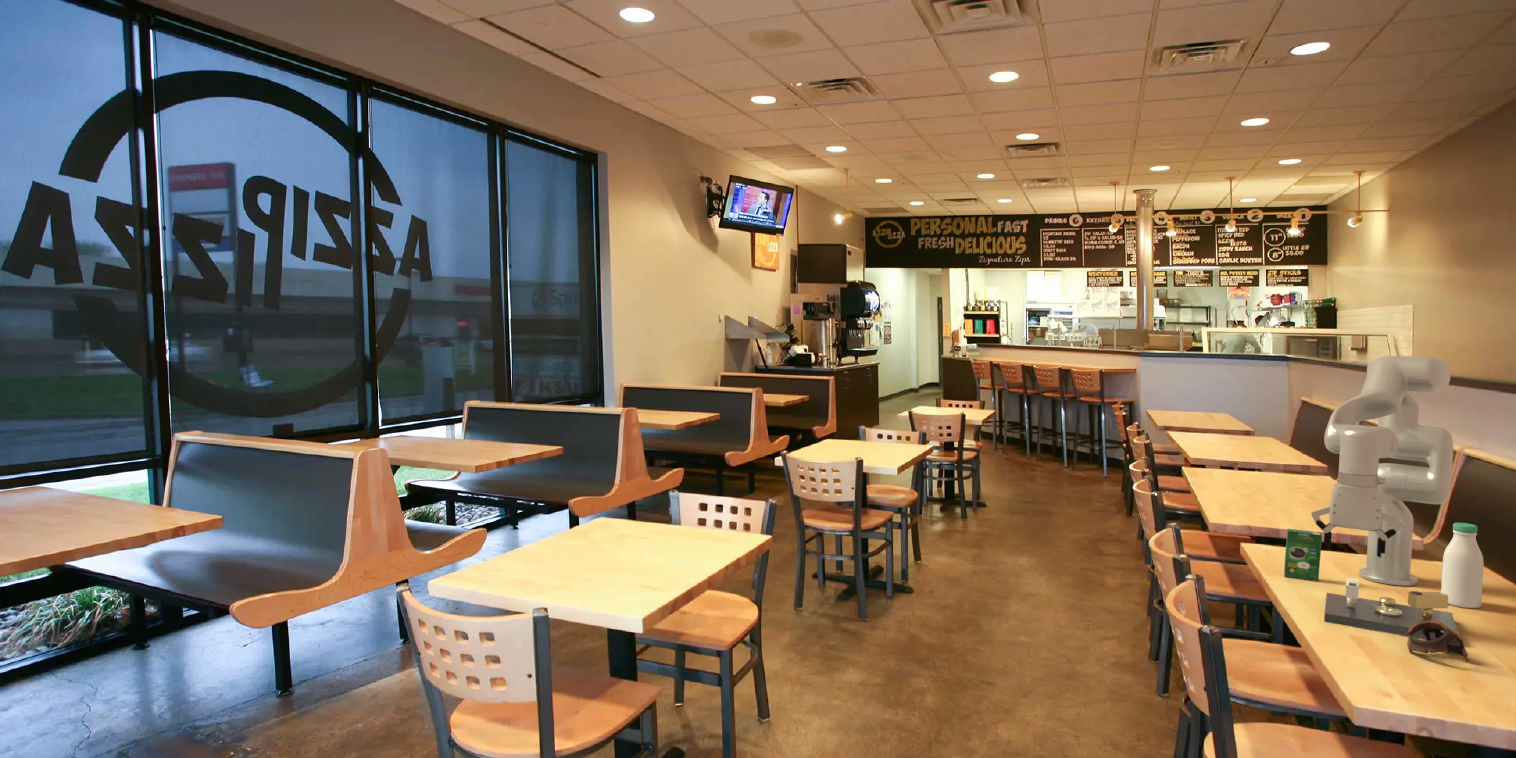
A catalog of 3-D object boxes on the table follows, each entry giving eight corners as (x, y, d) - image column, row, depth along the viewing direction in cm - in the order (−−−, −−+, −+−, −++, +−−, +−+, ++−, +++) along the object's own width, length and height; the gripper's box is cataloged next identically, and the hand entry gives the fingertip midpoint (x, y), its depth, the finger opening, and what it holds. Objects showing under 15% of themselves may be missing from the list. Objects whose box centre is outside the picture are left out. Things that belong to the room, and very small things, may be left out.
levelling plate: (1326, 600, 205) (1327, 586, 205) (1451, 621, 191) (1452, 605, 191) (1324, 621, 191) (1325, 606, 191) (1459, 645, 177) (1460, 629, 177)
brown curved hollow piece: (1480, 671, 165) (1462, 637, 164) (1425, 682, 169) (1408, 649, 169) (1458, 636, 175) (1441, 604, 175) (1407, 647, 180) (1390, 616, 179)
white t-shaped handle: (1345, 600, 199) (1346, 576, 198) (1357, 602, 197) (1358, 578, 197) (1344, 608, 193) (1346, 583, 192) (1357, 610, 191) (1358, 585, 191)
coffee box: (1319, 579, 223) (1321, 531, 222) (1319, 582, 220) (1322, 534, 219) (1283, 574, 227) (1286, 527, 226) (1284, 577, 224) (1286, 530, 223)
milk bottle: (1488, 610, 199) (1494, 529, 197) (1452, 607, 200) (1457, 527, 199) (1468, 599, 206) (1473, 521, 205) (1433, 597, 208) (1437, 519, 206)
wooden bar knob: (1438, 616, 188) (1439, 590, 187) (1446, 620, 185) (1448, 594, 185) (1407, 615, 188) (1408, 590, 188) (1415, 619, 186) (1416, 593, 185)
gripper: (1403, 483, 191) (1399, 555, 192) (1314, 474, 201) (1310, 543, 202) (1405, 487, 185) (1400, 562, 186) (1312, 478, 195) (1308, 549, 196)
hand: (1353, 552), depth 194 cm, fingers open, 9 cm apart
